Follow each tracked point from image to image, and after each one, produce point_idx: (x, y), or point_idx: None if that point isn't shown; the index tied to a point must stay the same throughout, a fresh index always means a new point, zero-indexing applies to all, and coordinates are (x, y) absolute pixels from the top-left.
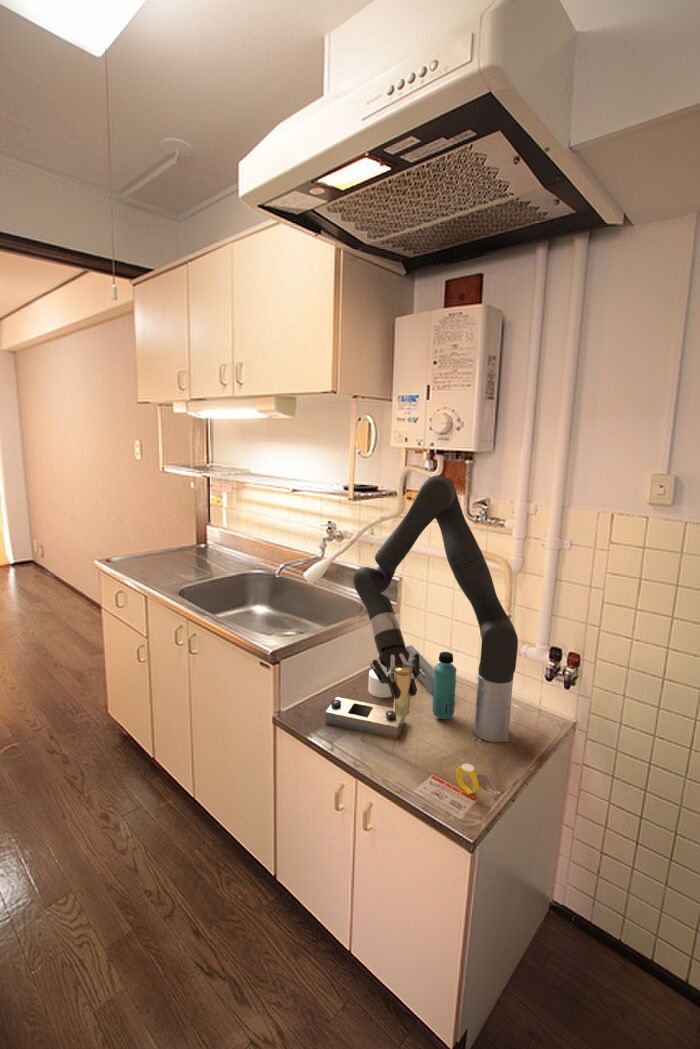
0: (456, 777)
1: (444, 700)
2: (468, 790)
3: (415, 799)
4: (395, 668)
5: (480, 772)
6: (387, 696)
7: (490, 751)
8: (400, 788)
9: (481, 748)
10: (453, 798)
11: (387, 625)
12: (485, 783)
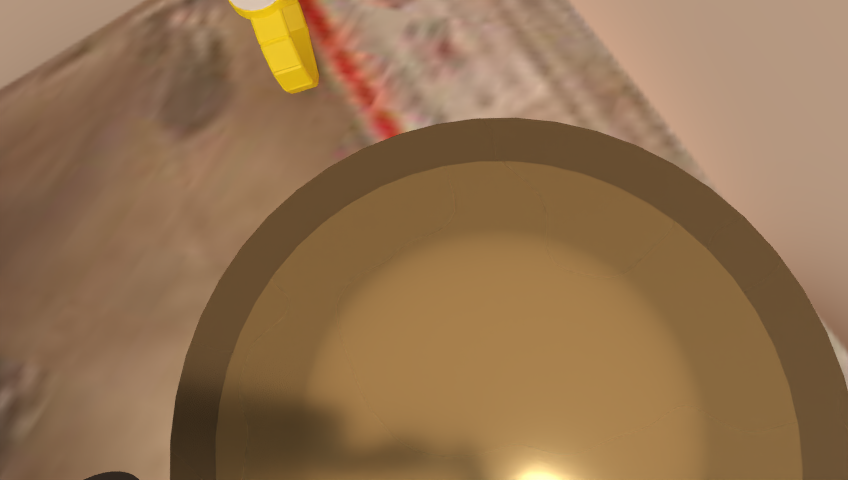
0: (314, 81)
1: None
2: (296, 37)
3: (561, 36)
4: (799, 477)
5: (169, 147)
6: None
7: (19, 286)
8: (608, 117)
9: (45, 322)
10: (385, 15)
11: None
12: (194, 75)
